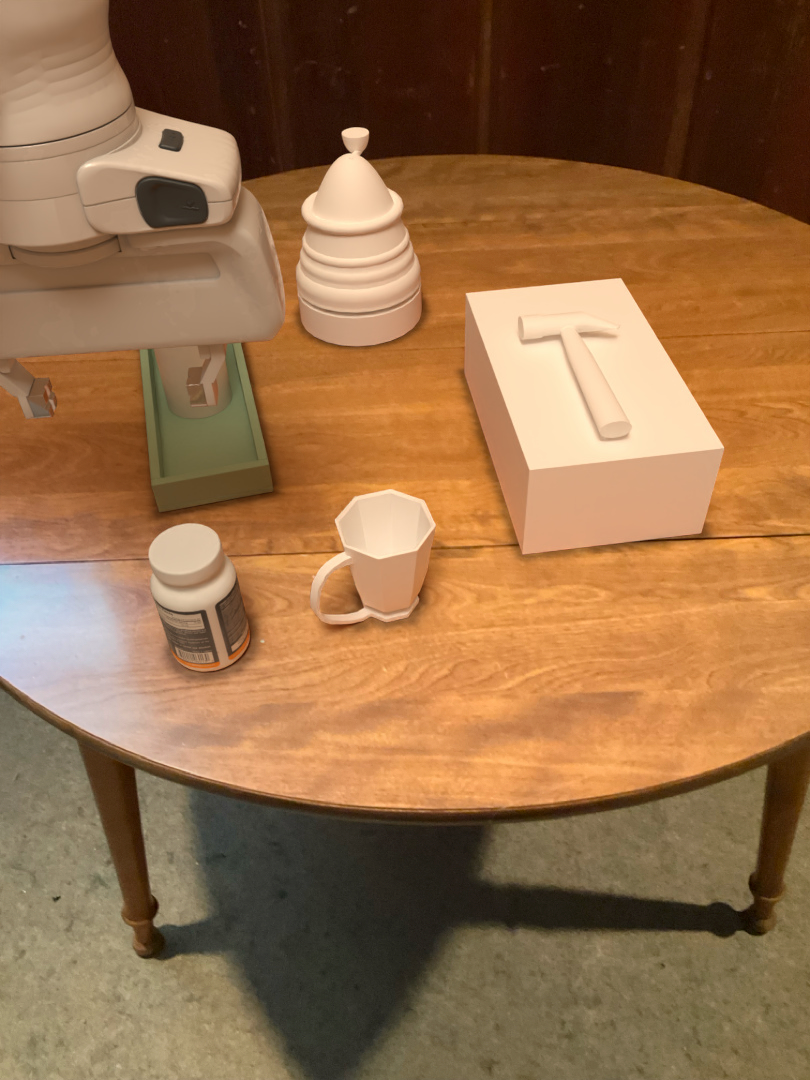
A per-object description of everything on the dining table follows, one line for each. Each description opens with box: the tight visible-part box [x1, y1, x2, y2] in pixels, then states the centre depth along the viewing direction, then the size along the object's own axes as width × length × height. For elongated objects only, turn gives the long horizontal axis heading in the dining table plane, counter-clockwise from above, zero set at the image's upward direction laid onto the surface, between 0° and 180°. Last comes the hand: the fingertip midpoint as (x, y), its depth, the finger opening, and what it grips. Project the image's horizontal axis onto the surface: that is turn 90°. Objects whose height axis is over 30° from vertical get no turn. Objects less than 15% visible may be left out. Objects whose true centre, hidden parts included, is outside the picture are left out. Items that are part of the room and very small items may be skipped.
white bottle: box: [154, 346, 232, 419], centre depth 84 cm, size 6×6×10 cm
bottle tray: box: [138, 343, 274, 513], centre depth 85 cm, size 26×10×3 cm, turn 14°
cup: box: [309, 488, 437, 625], centre depth 66 cm, size 7×10×8 cm
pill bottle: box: [147, 522, 251, 673], centre depth 63 cm, size 6×6×10 cm
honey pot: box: [295, 126, 423, 347], centre depth 92 cm, size 13×13×18 cm
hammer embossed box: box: [463, 277, 725, 555], centre depth 78 cm, size 14×25×11 cm, turn 8°
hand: (124, 406), depth 54 cm, fingers open, 8 cm apart
